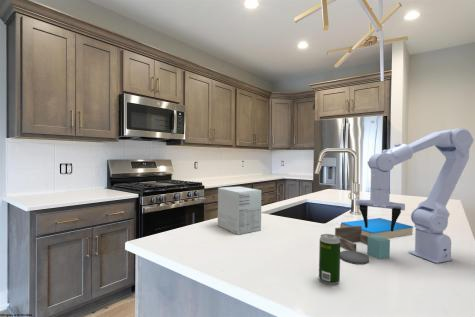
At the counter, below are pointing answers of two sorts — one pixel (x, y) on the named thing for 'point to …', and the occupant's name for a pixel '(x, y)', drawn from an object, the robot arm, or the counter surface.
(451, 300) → the counter surface
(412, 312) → the counter surface
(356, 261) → the coaster
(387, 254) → the block
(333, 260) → the beer can
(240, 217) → the supplement box
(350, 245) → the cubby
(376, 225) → the book
